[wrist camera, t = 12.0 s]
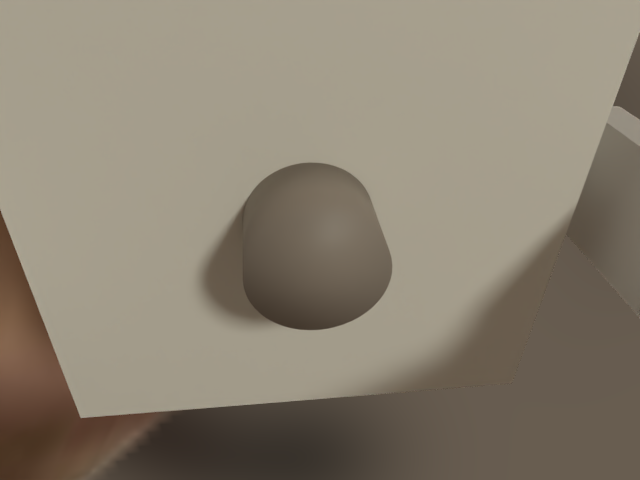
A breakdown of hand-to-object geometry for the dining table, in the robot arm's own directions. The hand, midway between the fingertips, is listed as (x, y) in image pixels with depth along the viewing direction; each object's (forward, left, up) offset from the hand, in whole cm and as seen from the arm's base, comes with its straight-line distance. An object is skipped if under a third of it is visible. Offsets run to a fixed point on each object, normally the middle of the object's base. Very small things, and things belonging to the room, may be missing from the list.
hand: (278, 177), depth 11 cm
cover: (0, 0, -12) cm, 12 cm away
